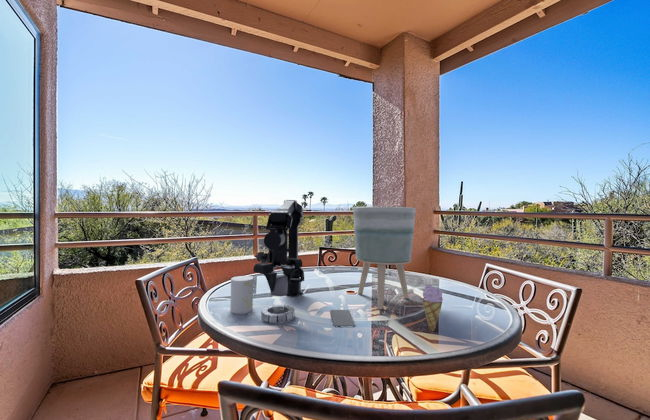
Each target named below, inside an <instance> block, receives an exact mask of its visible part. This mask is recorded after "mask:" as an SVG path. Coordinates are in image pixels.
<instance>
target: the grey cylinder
mask: <svg viewBox="0 0 650 420" xmlns="http://www.w3.org/2000/svg"><path fill="white" fill-rule="evenodd" d="M253 299H254V277H253V276H250V275H239V276H233V277H231V278H230V313H232V314H239V315H240V314H247V313H250V312H252V311H253V309H254V307H253V305H254V303H253V302H254V300H253Z"/></svg>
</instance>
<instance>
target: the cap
mask: <svg viewBox="0 0 650 420" xmlns="http://www.w3.org/2000/svg"><path fill="white" fill-rule="evenodd" d="M287 287H288V276H285V274H283V273H282V274H277V276H276V282H275V287H274V291H273V292H272V291H271V290H269V291H270V292H269V294H270V295H271V296H273V297H283V296H286V295H287ZM287 296H288V295H287Z"/></svg>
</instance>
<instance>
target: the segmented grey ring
mask: <svg viewBox="0 0 650 420" xmlns="http://www.w3.org/2000/svg"><path fill="white" fill-rule="evenodd" d="M260 312H261V313H260V314H261V317H260V318H261V320H262V321H263V322H266V323H268V324H284V323H288V322H292V321H293V319H294V318H295V317H296V316H295V315H296V311H295V308H294V307H293V306H291V305H286V304H272V305H268V306H265V307H263V308H262V309H261V311H260Z"/></svg>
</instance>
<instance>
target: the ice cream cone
mask: <svg viewBox="0 0 650 420" xmlns="http://www.w3.org/2000/svg"><path fill="white" fill-rule="evenodd" d="M422 296H423V297H422V303H423V310H424V314H425V318H426V322H427V325H428V331H429V332H434V331H436V326H437V323H438V321H439V317H440V313H441V309H442V305H443V300H444V299H443V291H442V290H441V289H440V288H438V287H435V286H432V285H430V284H426V285H425V286H424V290H423V292H422Z"/></svg>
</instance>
